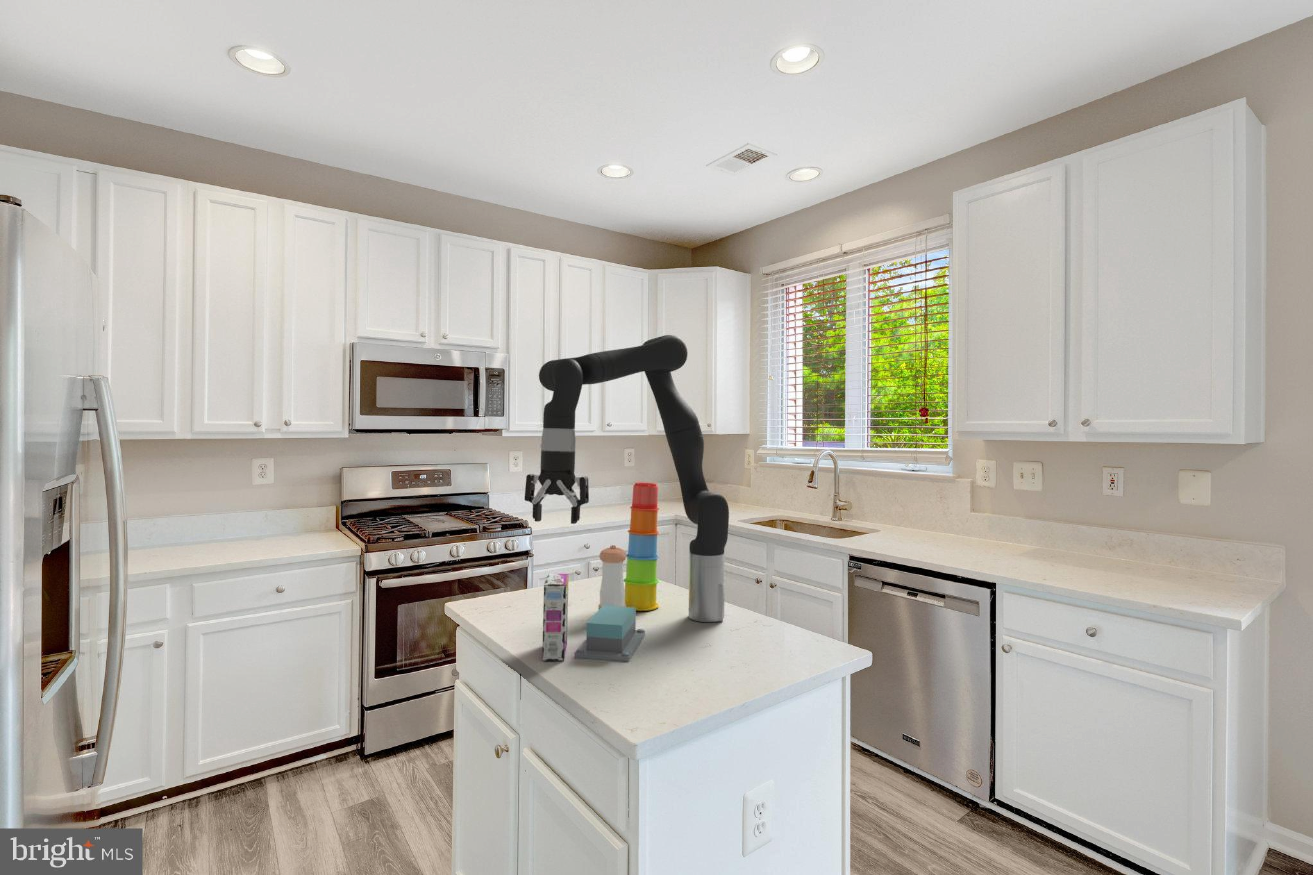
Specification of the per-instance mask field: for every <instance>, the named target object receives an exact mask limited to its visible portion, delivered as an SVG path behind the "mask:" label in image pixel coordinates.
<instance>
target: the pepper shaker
mask: <svg viewBox="0 0 1313 875" xmlns="http://www.w3.org/2000/svg"><path fill="white" fill-rule="evenodd" d="M599 559H600V561H601V562H602V564H601V565H602V569H601V570H602V571H601V572H602V573H601V583H600V590H599V604H598V610H597V612H598V611H599V609H600V608H601V607H602V606H619V607H626V604H625V582H624V562H625V560H627V557H626V552H625V550H624V549H622V548H619V547H617V546H616V545H614V544H612V545H610V546H609V547H607V548H604V549H602V550H601V551H600V553H599Z"/></svg>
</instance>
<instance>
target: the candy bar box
mask: <svg viewBox="0 0 1313 875" xmlns="http://www.w3.org/2000/svg"><path fill="white" fill-rule="evenodd" d="M569 579H570V578H569V573H548V575H547V576H546V578H545V581H544V583H543V612H542V614H543V615H542V616H543V617H542V654H541V656H542V658H541V661H542V662H563V661H565V657H566V653H567V652H566V651H567V646H568V620H569V618H568V617H569V616H568V615H569V614H568V613H569V611H568V610H569V608H568V607H569Z"/></svg>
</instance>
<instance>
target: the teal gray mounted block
mask: <svg viewBox="0 0 1313 875" xmlns="http://www.w3.org/2000/svg"><path fill="white" fill-rule="evenodd" d="M636 616H637V613H636V608H635V607H619V606H602V607H601V608H600V609H599V611H598V610H597V612H595V613H594V614H593V615H592V617H591V618H589V620H588V621H587V622H586V630H585V631H586V638H585V640H584V642H582V644H580V646H579V647H578V648H577V649H576V651H575V652H574V658H580V659H590V660H605V661H616V662H630V661H631V659H632V658H633V656H634V654H635V652H636V650H637V649H638V647H639V646H640V644H641V643H642V641H643V640H644V637H645V636H646V630H645V629H643V628H636V627H637V626H636V624H637V623H636V620H637V618H636Z"/></svg>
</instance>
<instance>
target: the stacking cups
mask: <svg viewBox="0 0 1313 875" xmlns="http://www.w3.org/2000/svg"><path fill="white" fill-rule="evenodd" d="M632 488H633V490H632V501H631V502H632V505H631V506H629V508H630V521H629V523H630V525H629V529H628V530H627V533H628V548H627V554H626V571H625V572H626V574H625V576H626V577H624V578H623V580H624V587H625V604H626V607H635V608H636V611H637V612H643V611H644V612H646V611H654V610H656V609H658V608H659V603H658V602H657V587H658V586H657V584H659V579H657V570H658V568H657V567H658V559H659V555H658V554H657V552H658V535H659V533H660V531H658V511H659V510H660V508H659V507H658V501H659V498H658V497H659V486H658V484H657V483H652V482H635V483H634V484H633V487H632Z"/></svg>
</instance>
